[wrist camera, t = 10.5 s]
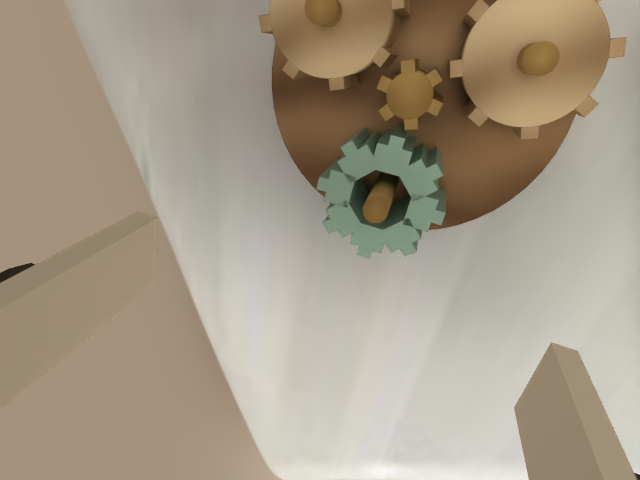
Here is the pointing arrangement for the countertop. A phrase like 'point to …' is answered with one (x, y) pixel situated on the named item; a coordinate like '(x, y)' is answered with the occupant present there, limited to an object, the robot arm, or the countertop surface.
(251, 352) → the countertop surface
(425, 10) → the carrier
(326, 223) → the gear
